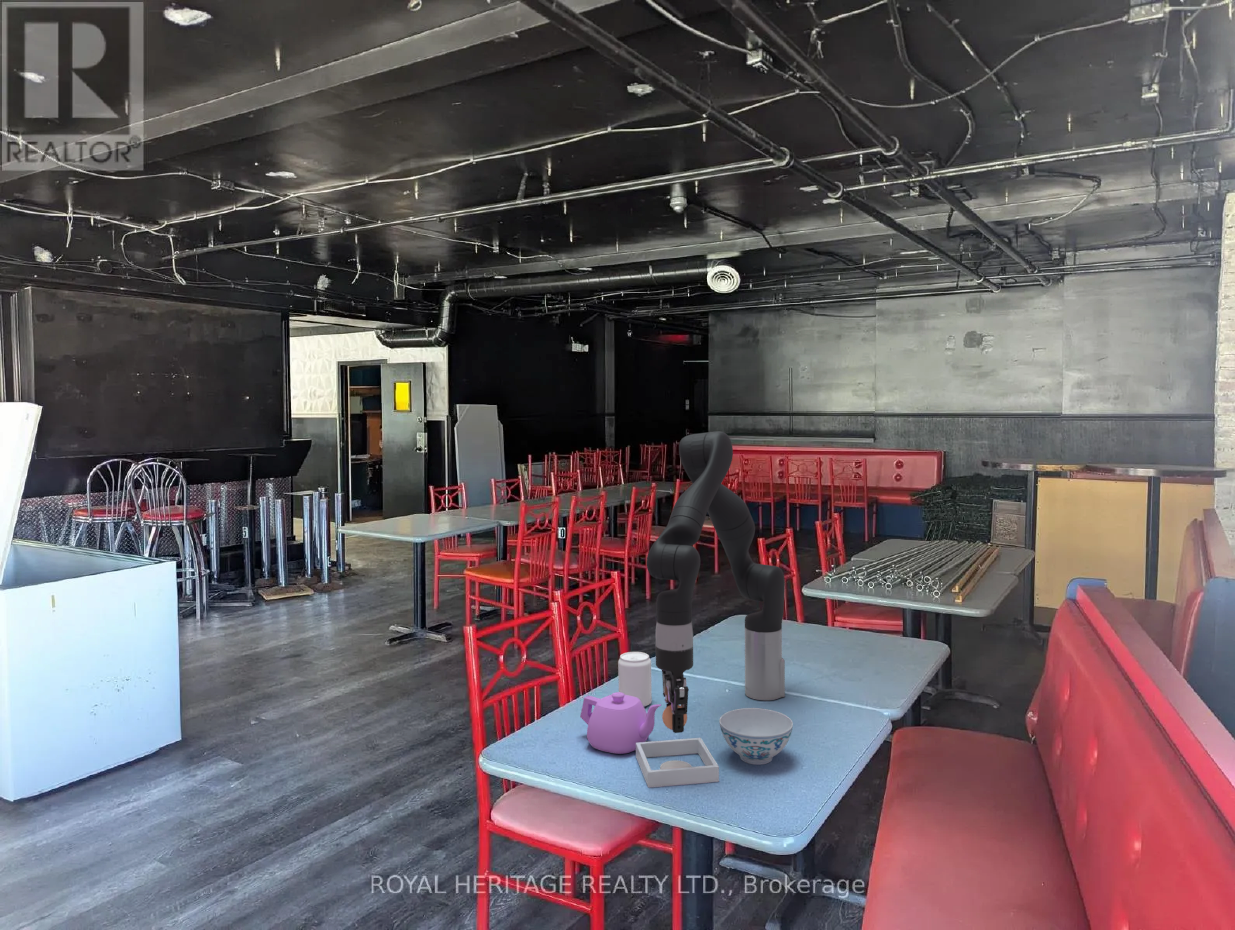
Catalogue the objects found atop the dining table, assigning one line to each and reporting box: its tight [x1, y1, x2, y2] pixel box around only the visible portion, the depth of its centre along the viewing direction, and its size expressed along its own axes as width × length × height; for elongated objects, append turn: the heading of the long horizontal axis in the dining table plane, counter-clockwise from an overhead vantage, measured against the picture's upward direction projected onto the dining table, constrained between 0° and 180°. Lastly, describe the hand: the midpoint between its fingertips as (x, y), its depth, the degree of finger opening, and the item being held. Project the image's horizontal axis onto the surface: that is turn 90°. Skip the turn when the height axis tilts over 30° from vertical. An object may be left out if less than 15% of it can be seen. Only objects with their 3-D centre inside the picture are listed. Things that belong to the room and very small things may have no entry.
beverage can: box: [617, 651, 652, 708], centre depth 197 cm, size 8×8×12 cm
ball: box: [661, 705, 688, 731], centre depth 160 cm, size 5×5×5 cm
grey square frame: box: [635, 737, 720, 788], centre depth 161 cm, size 14×14×3 cm
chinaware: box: [718, 707, 794, 766], centre depth 165 cm, size 15×15×8 cm
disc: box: [659, 759, 693, 770], centre depth 161 cm, size 6×6×1 cm
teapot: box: [580, 691, 662, 755], centre depth 173 cm, size 13×20×11 cm
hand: (675, 726), depth 160 cm, fingers closed on ball, 5 cm apart
